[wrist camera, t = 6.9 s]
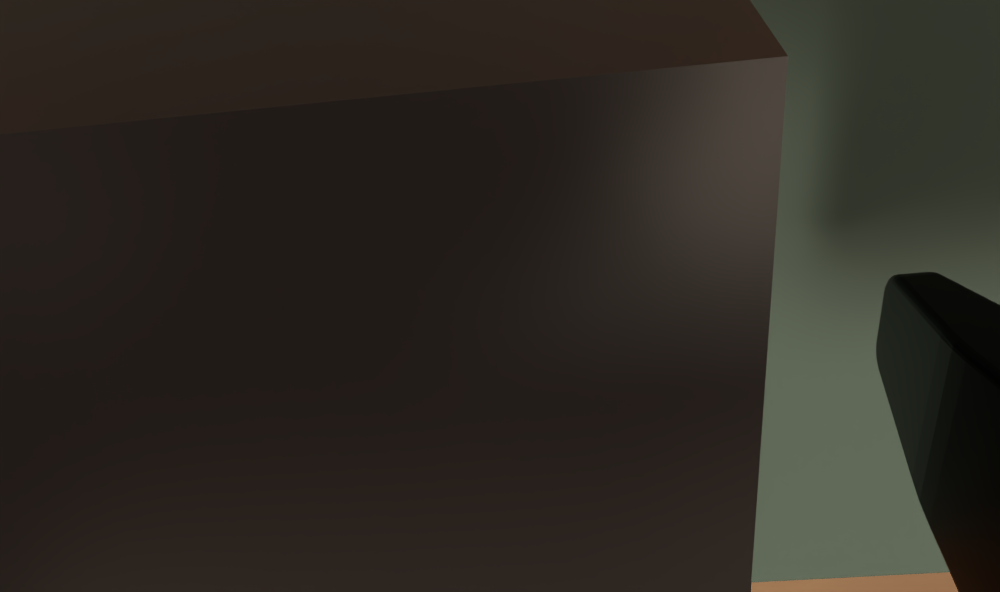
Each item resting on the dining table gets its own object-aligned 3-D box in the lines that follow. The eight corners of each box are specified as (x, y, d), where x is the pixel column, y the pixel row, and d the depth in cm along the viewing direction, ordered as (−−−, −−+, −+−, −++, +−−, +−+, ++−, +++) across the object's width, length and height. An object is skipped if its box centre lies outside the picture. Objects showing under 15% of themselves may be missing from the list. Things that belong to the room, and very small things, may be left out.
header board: (1338, -534, 7) (2828, -921, 2) (1018, 513, 14) (1258, 923, 9) (-493, -256, 8) (-1684, -174, 4) (32, 569, 15) (-179, 949, 11)
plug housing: (620, -191, 8) (787, 55, 3) (643, 525, 13) (716, 1067, 8) (122, -129, 8) (-542, 189, 3) (339, 542, 13) (224, 1071, 8)
